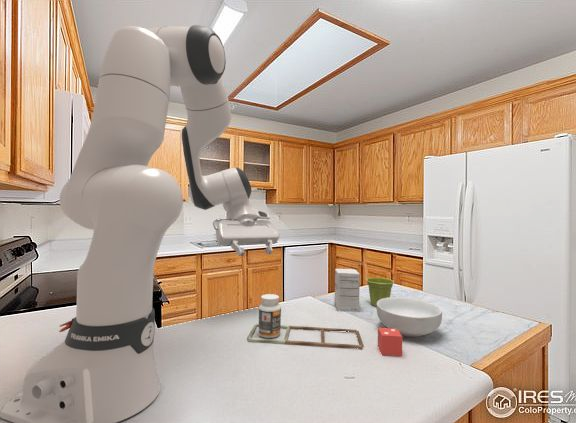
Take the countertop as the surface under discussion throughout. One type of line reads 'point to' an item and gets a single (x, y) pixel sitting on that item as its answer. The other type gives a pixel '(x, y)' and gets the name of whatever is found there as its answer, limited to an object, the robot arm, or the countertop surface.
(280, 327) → the track frame
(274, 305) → the pill bottle
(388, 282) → the plant pot
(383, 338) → the red die
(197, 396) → the countertop surface
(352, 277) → the supplement box
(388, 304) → the cereal bowl
